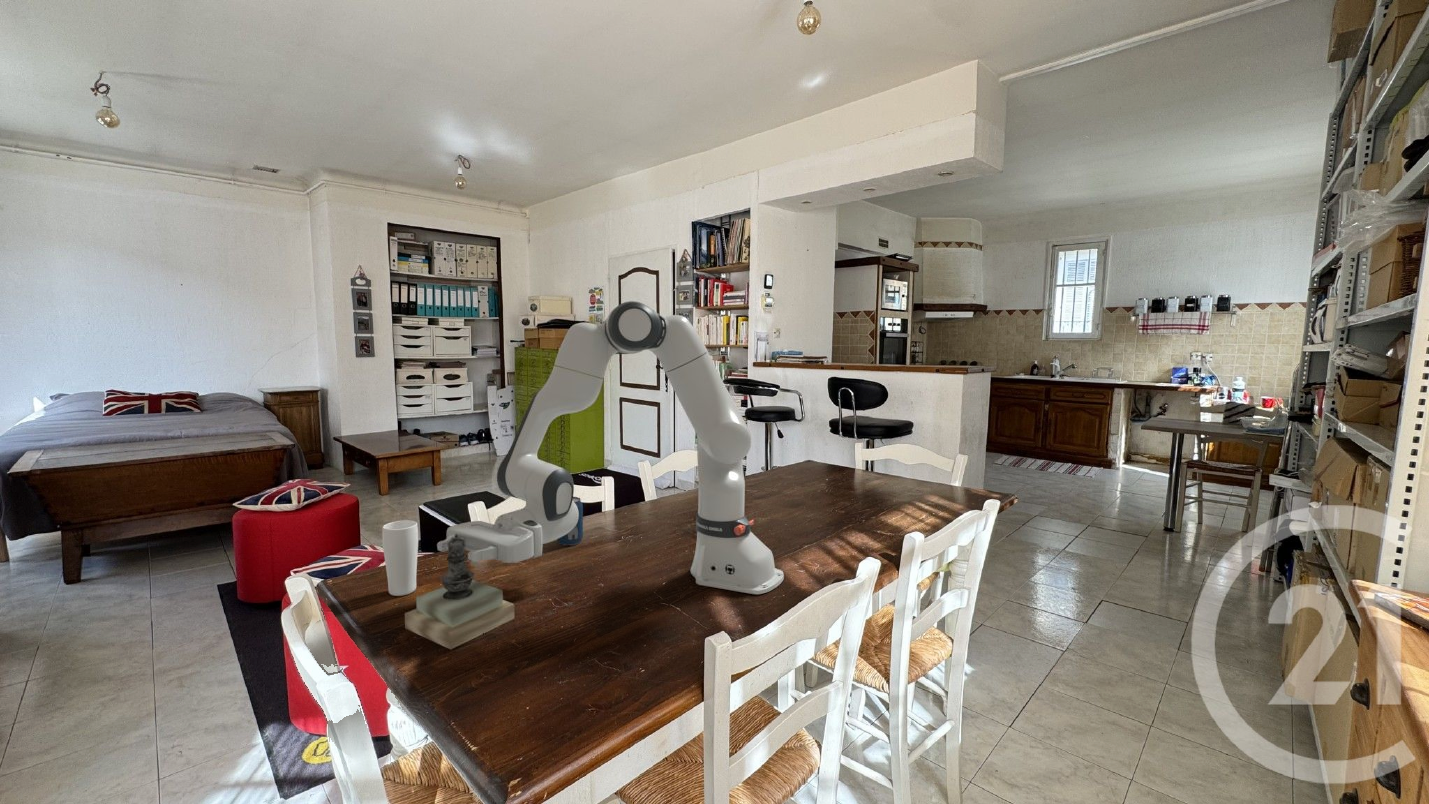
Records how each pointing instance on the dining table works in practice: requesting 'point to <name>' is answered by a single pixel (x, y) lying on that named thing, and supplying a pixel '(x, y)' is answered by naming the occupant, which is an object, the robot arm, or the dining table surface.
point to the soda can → (577, 531)
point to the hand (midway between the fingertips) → (454, 552)
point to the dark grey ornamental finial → (457, 572)
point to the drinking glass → (401, 556)
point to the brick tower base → (460, 630)
